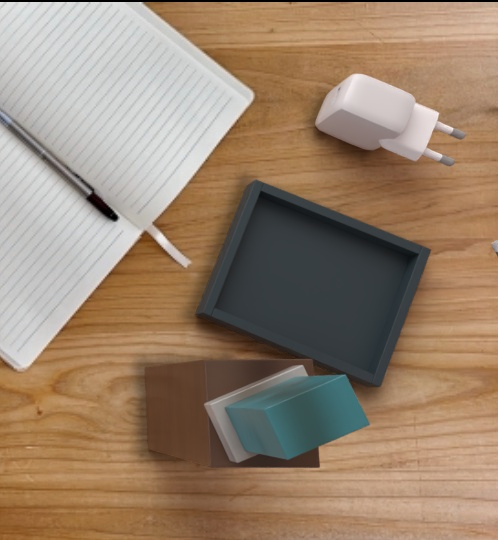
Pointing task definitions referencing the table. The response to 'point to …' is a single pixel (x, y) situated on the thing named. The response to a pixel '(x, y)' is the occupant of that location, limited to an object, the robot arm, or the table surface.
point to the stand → (196, 416)
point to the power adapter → (381, 119)
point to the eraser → (285, 414)
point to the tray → (313, 283)
